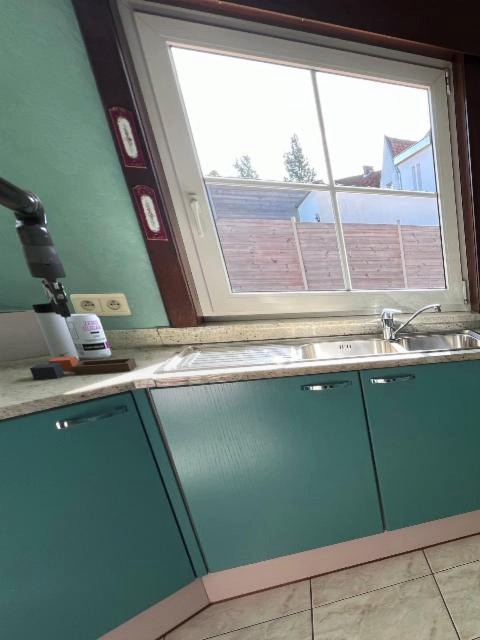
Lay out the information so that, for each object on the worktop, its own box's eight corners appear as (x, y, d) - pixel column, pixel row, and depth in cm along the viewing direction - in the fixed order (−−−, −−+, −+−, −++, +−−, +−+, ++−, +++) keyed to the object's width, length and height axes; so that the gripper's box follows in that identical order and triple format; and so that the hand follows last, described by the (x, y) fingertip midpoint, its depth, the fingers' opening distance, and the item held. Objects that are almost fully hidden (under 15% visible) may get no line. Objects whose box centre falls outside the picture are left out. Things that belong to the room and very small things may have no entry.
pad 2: (52, 372, 155) (47, 361, 154) (58, 368, 160) (54, 357, 159) (73, 370, 158) (69, 359, 157) (79, 366, 163) (75, 356, 161)
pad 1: (34, 379, 146) (29, 368, 145) (41, 375, 151) (37, 364, 150) (57, 378, 149) (53, 366, 148) (64, 374, 154) (60, 363, 152)
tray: (74, 374, 153) (71, 366, 152) (83, 369, 160) (80, 361, 159) (130, 371, 159) (127, 363, 158) (136, 365, 167) (134, 358, 166)
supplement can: (91, 355, 179) (76, 313, 174) (117, 355, 181) (103, 313, 175) (74, 359, 172) (57, 315, 166) (101, 359, 173) (86, 316, 168)
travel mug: (68, 364, 166) (45, 302, 158) (48, 363, 166) (24, 302, 158) (86, 360, 172) (64, 301, 164) (67, 359, 171) (44, 300, 164)
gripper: (21, 260, 151) (42, 314, 157) (29, 261, 143) (50, 318, 149) (56, 260, 156) (75, 312, 162) (65, 262, 148) (85, 317, 154)
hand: (63, 315), depth 155 cm, fingers open, 8 cm apart
